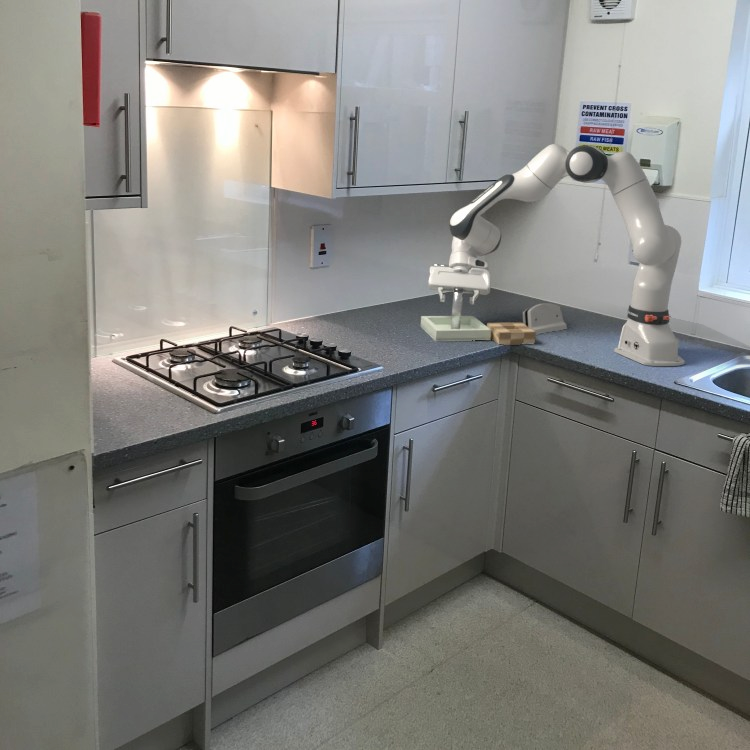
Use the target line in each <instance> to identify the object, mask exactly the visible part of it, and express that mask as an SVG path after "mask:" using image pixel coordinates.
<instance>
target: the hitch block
mask: <svg viewBox="0 0 750 750" xmlns="http://www.w3.org/2000/svg"><path fill="white" fill-rule="evenodd" d="M486 326H487V327H488V328H489V329H490V330H491V337H490V340H492V339H493V340H494V341H495V342H497V343H498V344H504V345H503V346H516V345H517V346H521V345H520V344H522V343H524V344H526V343H536V336H537V335H536V332H535V331H533V330H532V329H530V328H529V327H528V326H526V325H525V324H523V321H522V322H521V321H519V322H487V323H486ZM493 340H492V341H493ZM494 341H493V342H494ZM495 342H494V343H495ZM497 343H496V344H497ZM498 344H497V345H498Z"/></svg>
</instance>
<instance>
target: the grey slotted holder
mask: <svg viewBox="0 0 750 750" xmlns="http://www.w3.org/2000/svg"><path fill="white" fill-rule="evenodd" d="M561 310H562V309H561V307H560V305H558V304H555V303H547V302H545V303H543V302H542V303H538V304H534V305H532V306H529V307H528V308H525V310H523V311H522V323H523V324H525V325H526V326H528V327H529V328H530V329H532V330H533V331H535V332H536V334H539V333H544V332H550V331H556V330H562V331H564V330H563V329H567V330H568V327H567V326H568V325H567V322H565V320H564V317H563V313H562V311H561ZM556 332H557V331H556Z"/></svg>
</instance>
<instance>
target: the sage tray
mask: <svg viewBox="0 0 750 750" xmlns="http://www.w3.org/2000/svg"><path fill="white" fill-rule="evenodd" d="M451 319H452V315H428V316H427V315H421V316H420V328H421V329H422V330H424V332H426V334H427V335H429V336H430V337H431V339H433V340H434V342H476V341H475V340H490V341H491V338H490V337H491V330H490V329H489V328H488V327H487V325H485V324H484V323H483V322H482V321H480V320H479V319H478V318H477V317H475V316H474V315H461V324H460V329H451ZM472 340H473V341H472Z"/></svg>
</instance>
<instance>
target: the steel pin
mask: <svg viewBox="0 0 750 750" xmlns="http://www.w3.org/2000/svg"><path fill="white" fill-rule="evenodd" d="M453 291H454V292H453V296H452V310H451V316H452V319H451V329H460V324H461V316H462V311H463V300H464V299H463V297H464V293H463V291H464V288H462V287H454V290H453Z"/></svg>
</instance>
